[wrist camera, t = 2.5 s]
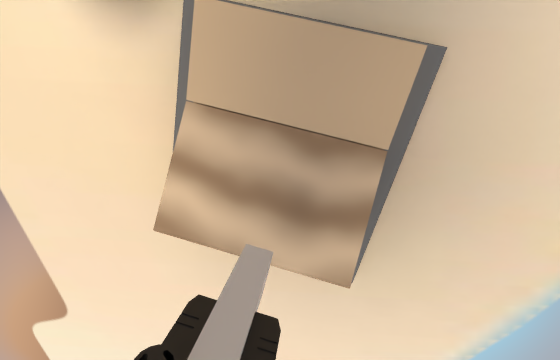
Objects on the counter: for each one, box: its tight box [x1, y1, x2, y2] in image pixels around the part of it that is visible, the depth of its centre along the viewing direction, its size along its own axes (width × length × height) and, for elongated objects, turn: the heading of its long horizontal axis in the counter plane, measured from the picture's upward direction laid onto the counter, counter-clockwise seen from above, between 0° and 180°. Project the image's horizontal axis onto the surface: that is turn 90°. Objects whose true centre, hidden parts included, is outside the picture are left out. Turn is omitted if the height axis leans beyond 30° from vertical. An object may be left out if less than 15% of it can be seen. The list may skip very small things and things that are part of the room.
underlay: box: [173, 0, 447, 283], centre depth 26 cm, size 24×22×3 cm
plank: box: [153, 101, 387, 289], centre depth 24 cm, size 12×18×2 cm, turn 77°
